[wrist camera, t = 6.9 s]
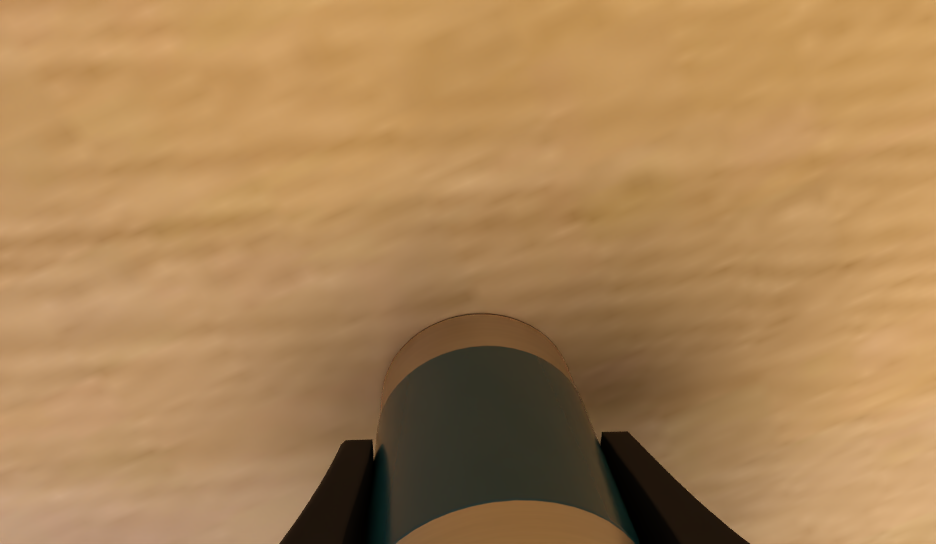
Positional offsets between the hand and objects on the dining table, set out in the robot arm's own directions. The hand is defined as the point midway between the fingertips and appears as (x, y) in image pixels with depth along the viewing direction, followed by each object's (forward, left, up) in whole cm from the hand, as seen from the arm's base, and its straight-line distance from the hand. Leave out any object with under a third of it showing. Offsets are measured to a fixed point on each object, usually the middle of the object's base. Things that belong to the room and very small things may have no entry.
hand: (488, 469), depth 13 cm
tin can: (0, 0, -3) cm, 3 cm away
